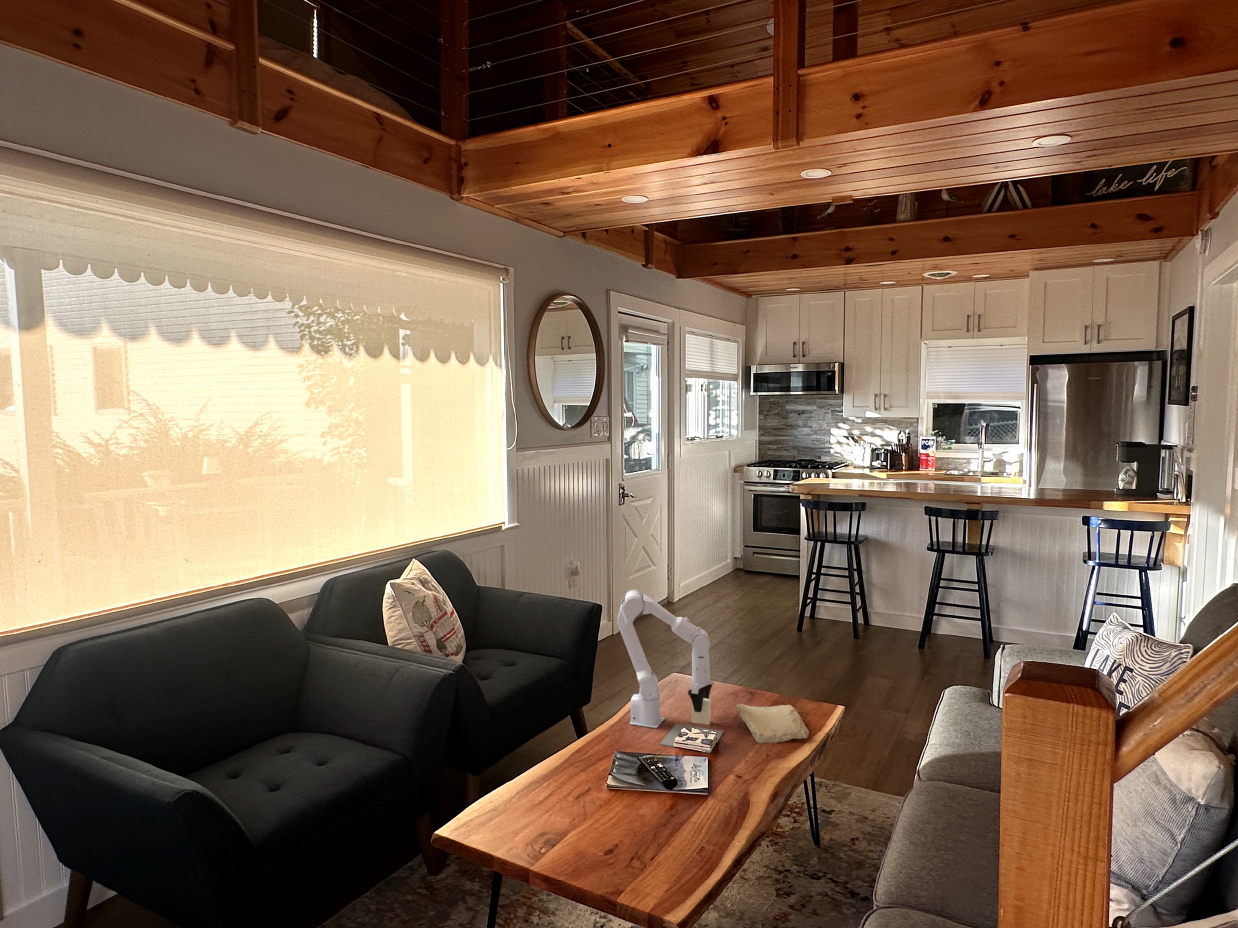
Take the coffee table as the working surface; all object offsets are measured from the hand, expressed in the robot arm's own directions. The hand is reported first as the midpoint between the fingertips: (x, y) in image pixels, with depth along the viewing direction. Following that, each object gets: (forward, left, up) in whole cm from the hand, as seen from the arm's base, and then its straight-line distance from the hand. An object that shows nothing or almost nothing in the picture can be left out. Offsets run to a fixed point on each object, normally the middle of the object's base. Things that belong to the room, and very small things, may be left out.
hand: (701, 707), depth 258 cm
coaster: (0, 0, -5) cm, 5 cm away
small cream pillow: (+22, +4, -6) cm, 23 cm away
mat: (+1, -13, -5) cm, 14 cm away
